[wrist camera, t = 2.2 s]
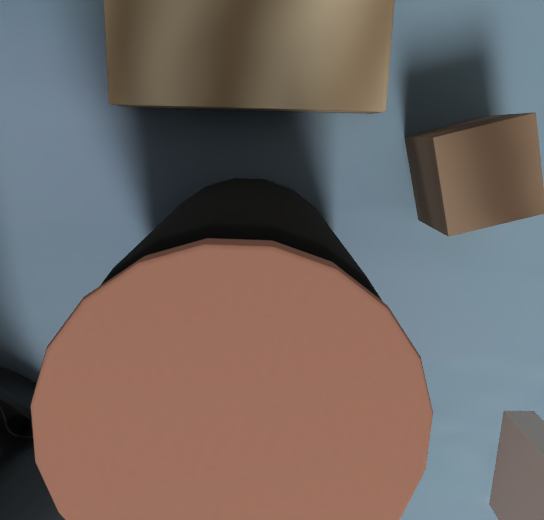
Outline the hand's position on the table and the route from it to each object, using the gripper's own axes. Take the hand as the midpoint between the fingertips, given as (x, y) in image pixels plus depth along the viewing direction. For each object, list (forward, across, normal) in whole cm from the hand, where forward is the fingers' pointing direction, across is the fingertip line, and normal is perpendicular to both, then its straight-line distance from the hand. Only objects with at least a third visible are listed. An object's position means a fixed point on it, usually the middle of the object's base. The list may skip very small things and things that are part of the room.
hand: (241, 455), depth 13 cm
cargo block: (+19, +12, +6) cm, 23 cm away
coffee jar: (+19, 0, 0) cm, 19 cm away
